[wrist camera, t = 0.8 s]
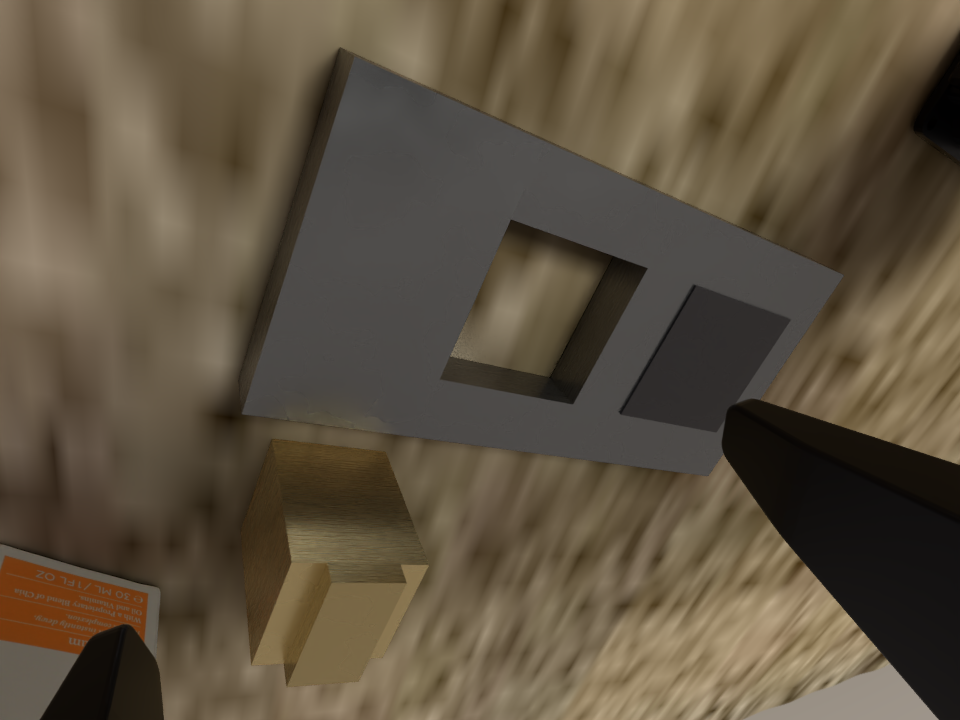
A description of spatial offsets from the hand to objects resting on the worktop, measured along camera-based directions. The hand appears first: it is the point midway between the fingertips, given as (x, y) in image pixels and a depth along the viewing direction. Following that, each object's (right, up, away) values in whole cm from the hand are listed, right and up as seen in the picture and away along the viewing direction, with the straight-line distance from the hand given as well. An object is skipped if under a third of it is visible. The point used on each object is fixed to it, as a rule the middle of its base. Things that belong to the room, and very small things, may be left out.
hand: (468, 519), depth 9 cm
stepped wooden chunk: (-6, -3, +16) cm, 17 cm away
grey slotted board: (+4, +4, +16) cm, 17 cm away
